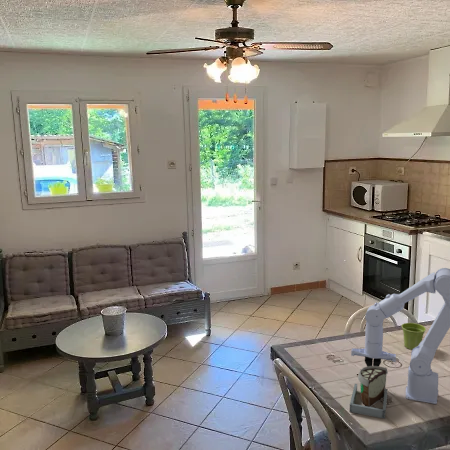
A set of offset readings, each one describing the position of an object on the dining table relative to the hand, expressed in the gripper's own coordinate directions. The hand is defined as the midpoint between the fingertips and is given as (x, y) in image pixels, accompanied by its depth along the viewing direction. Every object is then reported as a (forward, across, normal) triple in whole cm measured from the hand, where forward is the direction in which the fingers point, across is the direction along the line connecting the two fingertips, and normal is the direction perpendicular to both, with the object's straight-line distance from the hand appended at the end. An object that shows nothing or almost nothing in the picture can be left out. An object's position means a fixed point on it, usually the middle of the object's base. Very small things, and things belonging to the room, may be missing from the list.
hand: (372, 377), depth 161 cm
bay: (+3, 0, +12) cm, 12 cm away
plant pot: (+4, -14, -38) cm, 41 cm away
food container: (+4, 0, +9) cm, 9 cm away
